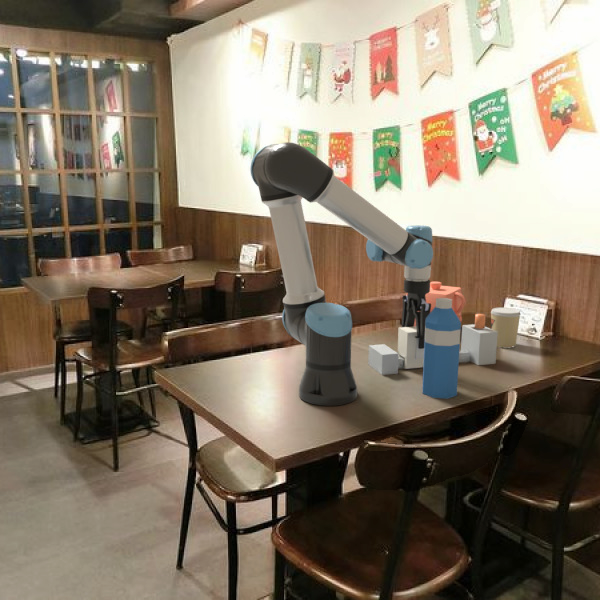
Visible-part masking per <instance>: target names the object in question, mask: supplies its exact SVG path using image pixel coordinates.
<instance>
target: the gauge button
mask: <svg viewBox="0 0 600 600" xmlns="http://www.w3.org/2000/svg"><path fill="white" fill-rule="evenodd" d="M474 315H475V316H474V324H475V328H478V329H484V328H485V327H486V316H487V315H486V314H484V313H475V314H474Z"/></svg>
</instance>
